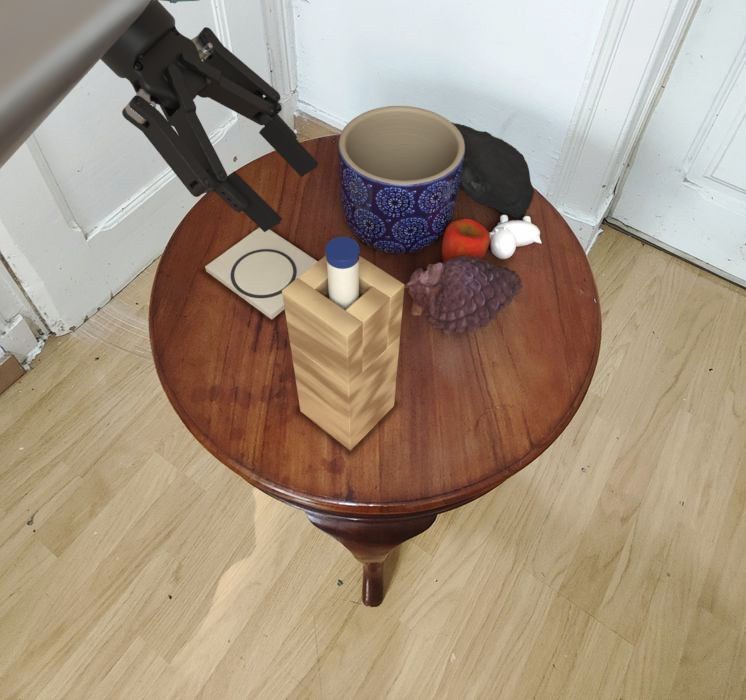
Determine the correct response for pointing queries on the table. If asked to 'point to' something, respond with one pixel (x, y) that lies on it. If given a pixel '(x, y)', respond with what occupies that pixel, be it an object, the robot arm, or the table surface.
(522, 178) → the rock
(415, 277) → the pine cone
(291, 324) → the pen block
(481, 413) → the table surface
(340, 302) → the marker
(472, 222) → the apple
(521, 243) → the toy creature
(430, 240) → the planter
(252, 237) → the drawing board
